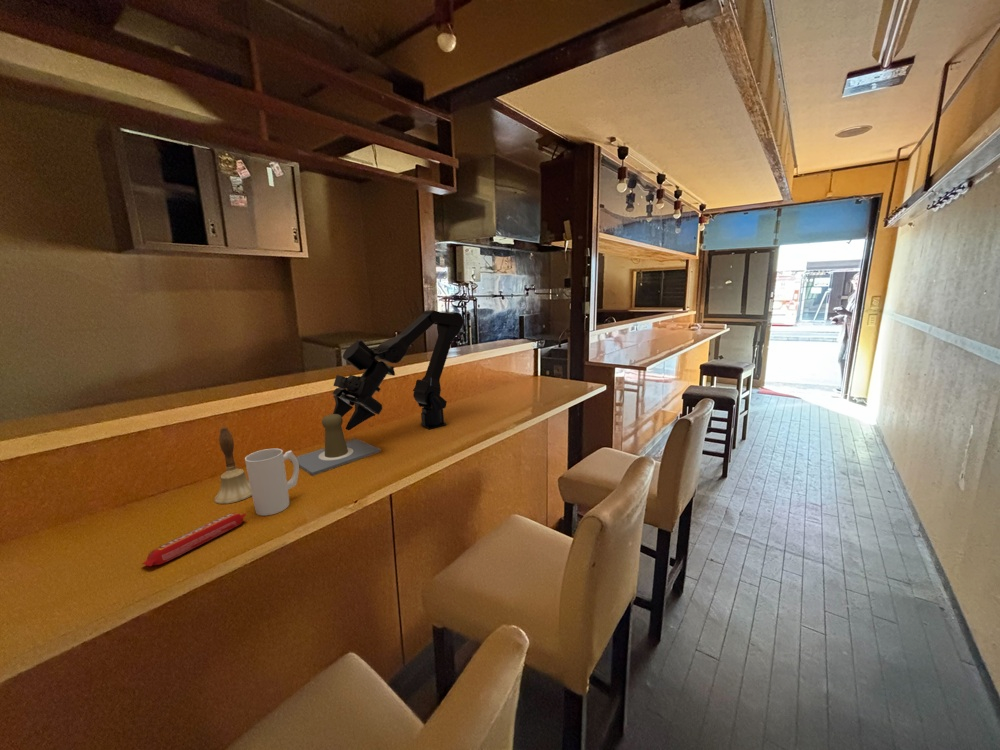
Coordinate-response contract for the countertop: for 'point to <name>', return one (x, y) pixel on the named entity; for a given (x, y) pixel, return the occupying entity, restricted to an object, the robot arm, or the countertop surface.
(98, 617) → the countertop surface
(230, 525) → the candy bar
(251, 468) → the mug
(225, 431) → the hand bell
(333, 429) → the olive rounded peg
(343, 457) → the board
